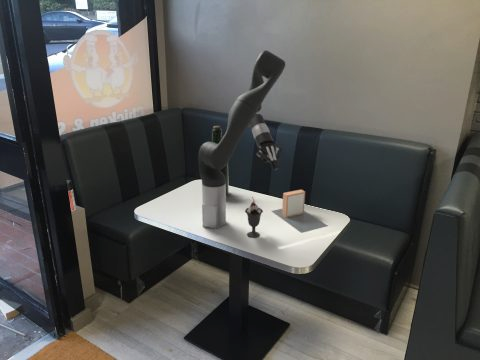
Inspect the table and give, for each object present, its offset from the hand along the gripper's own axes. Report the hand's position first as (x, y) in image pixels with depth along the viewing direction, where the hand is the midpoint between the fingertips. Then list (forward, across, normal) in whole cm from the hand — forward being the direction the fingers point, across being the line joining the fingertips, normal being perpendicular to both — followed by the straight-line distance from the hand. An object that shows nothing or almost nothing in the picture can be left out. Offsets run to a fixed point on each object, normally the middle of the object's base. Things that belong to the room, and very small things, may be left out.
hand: (276, 169), depth 174 cm
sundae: (+27, +23, +4) cm, 36 cm away
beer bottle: (-3, +19, -26) cm, 33 cm away
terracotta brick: (+21, 0, 0) cm, 21 cm away
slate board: (+25, 0, +2) cm, 25 cm away
